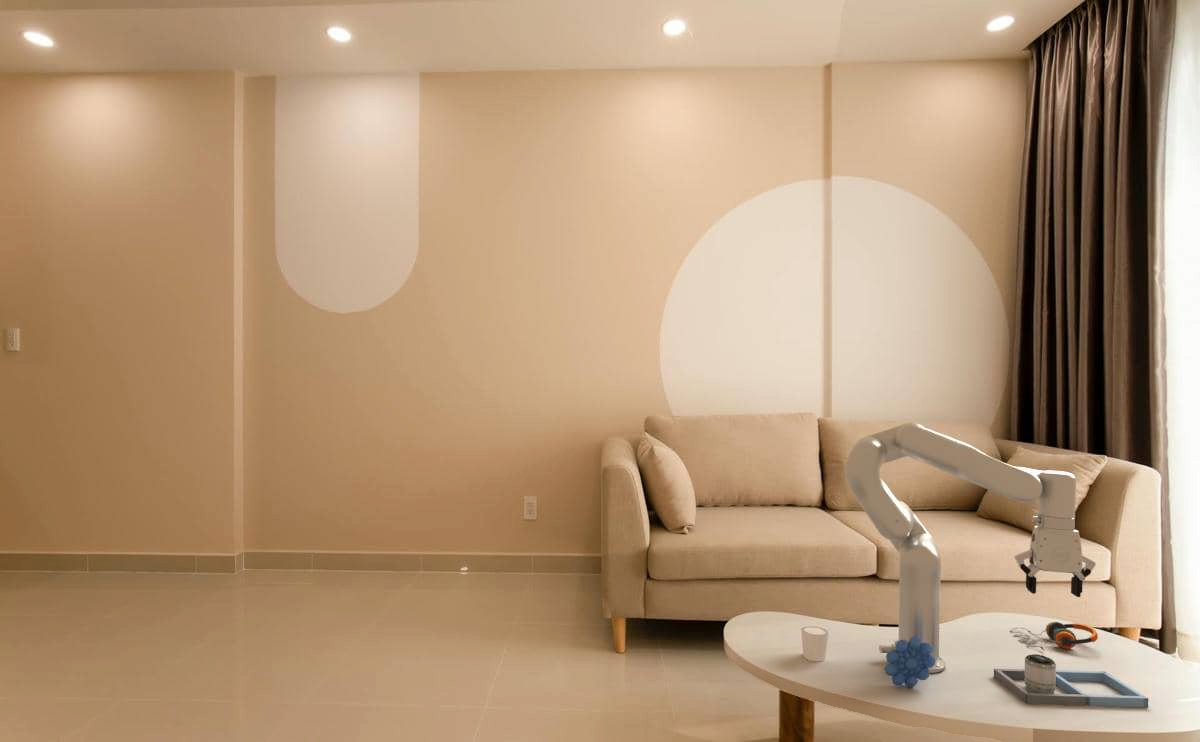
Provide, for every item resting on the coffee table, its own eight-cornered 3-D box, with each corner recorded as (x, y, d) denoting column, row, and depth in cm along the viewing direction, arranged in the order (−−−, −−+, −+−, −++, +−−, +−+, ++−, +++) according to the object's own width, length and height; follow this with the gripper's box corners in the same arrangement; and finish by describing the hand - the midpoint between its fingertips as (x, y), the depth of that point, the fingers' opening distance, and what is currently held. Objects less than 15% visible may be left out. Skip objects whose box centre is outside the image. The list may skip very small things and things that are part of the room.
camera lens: (1035, 682, 169) (1036, 650, 169) (1061, 694, 163) (1062, 660, 163) (1018, 687, 166) (1018, 654, 166) (1044, 698, 161) (1044, 664, 161)
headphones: (1003, 620, 205) (1078, 610, 200) (1007, 638, 204) (1082, 629, 200) (1025, 642, 188) (1107, 632, 184) (1029, 661, 188) (1112, 652, 184)
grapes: (926, 679, 170) (927, 630, 170) (939, 692, 163) (939, 641, 163) (878, 678, 170) (879, 628, 170) (888, 690, 163) (889, 639, 163)
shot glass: (799, 660, 180) (799, 633, 180) (802, 650, 186) (802, 624, 186) (827, 664, 177) (827, 637, 177) (829, 654, 184) (829, 628, 184)
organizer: (1027, 703, 158) (1027, 695, 158) (993, 676, 172) (993, 668, 172) (1148, 707, 157) (1148, 698, 157) (1104, 679, 171) (1104, 671, 171)
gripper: (1023, 523, 165) (1020, 595, 166) (1104, 528, 162) (1101, 602, 162) (1010, 517, 173) (1008, 585, 173) (1087, 521, 170) (1085, 591, 170)
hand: (1053, 593), depth 168 cm, fingers open, 9 cm apart
